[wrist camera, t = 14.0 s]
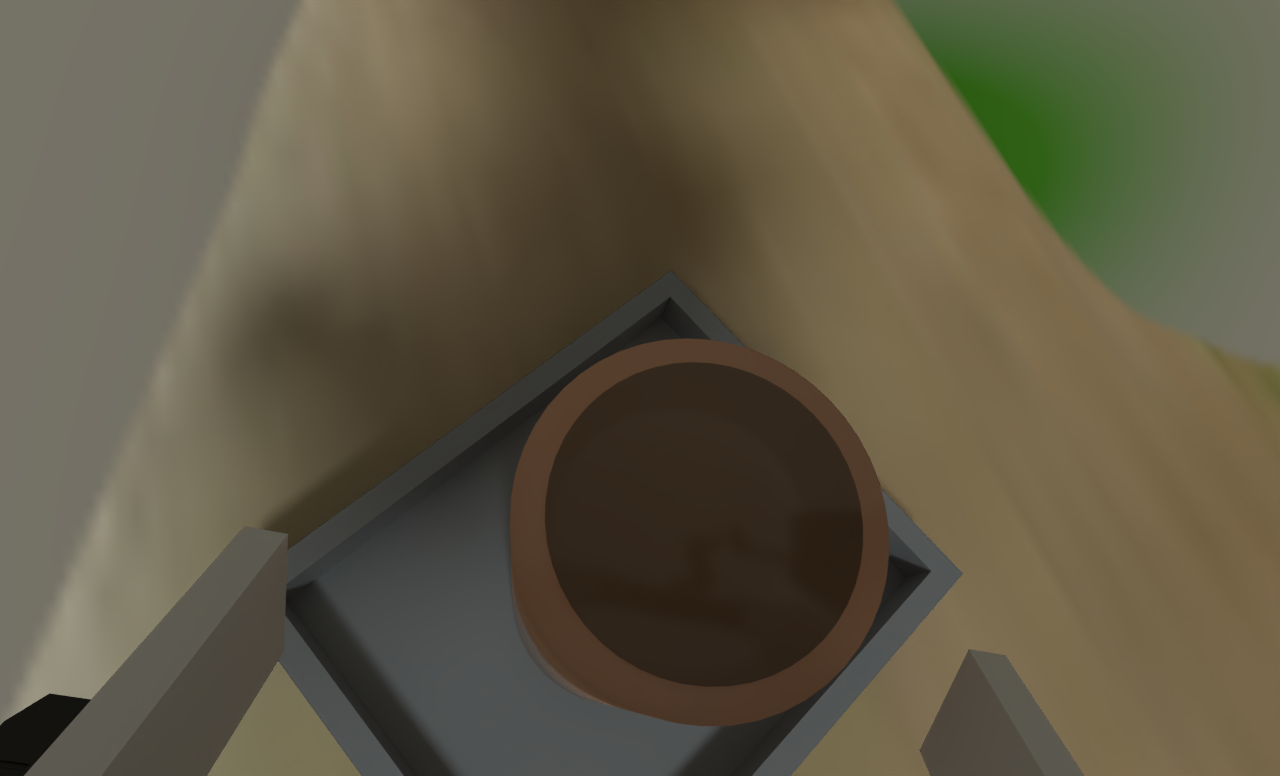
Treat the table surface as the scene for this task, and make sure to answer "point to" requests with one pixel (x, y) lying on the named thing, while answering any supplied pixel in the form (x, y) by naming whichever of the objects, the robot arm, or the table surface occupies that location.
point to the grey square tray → (484, 621)
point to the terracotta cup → (695, 535)
